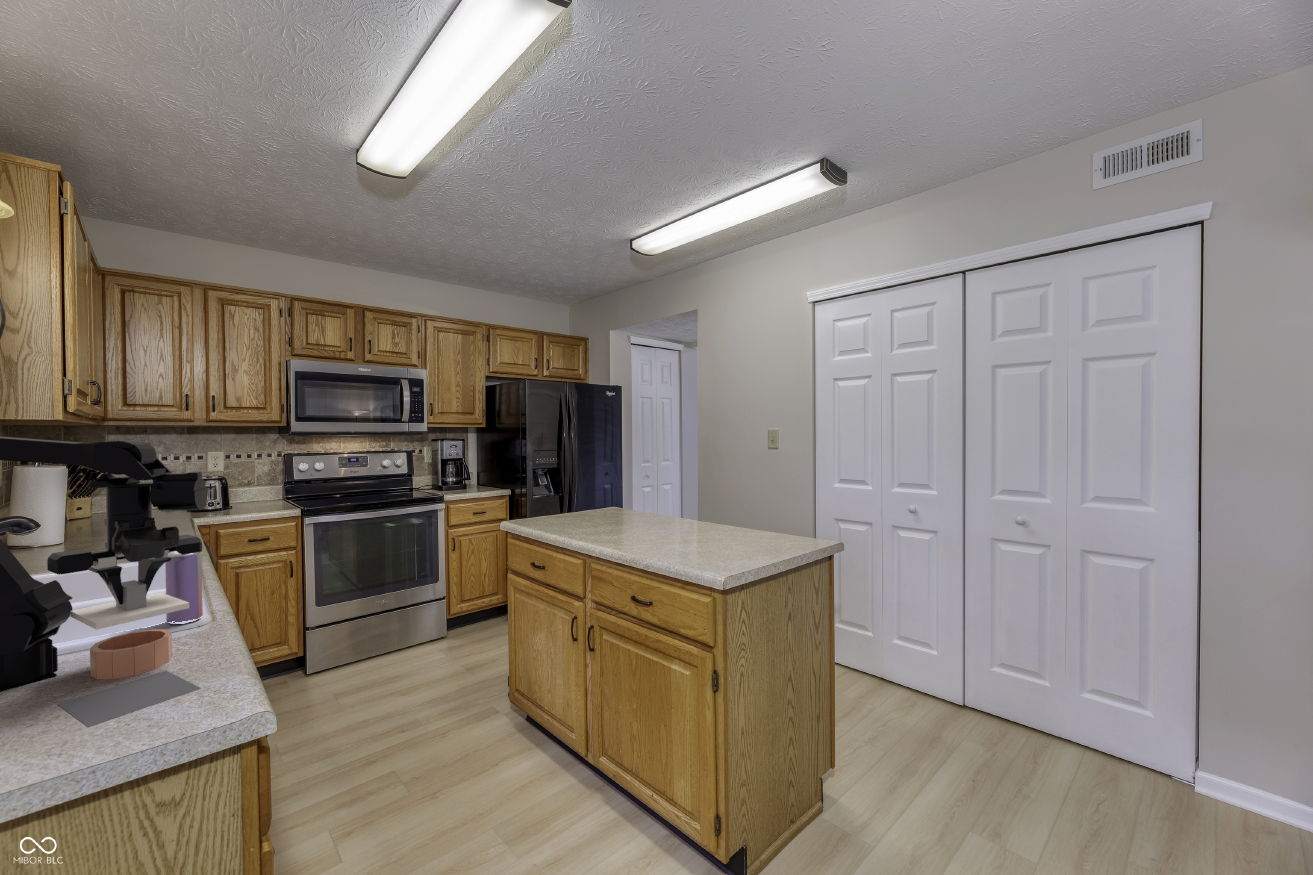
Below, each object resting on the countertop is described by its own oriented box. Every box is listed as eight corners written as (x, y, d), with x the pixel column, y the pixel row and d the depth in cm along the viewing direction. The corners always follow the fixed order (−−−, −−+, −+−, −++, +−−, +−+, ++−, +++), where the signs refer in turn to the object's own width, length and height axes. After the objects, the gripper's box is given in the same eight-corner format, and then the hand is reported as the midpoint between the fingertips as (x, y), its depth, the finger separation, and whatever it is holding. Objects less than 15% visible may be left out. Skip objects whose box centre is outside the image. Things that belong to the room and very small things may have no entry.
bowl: (104, 686, 89) (104, 656, 89) (82, 673, 94) (81, 644, 94) (181, 663, 98) (180, 635, 98) (157, 652, 103) (156, 625, 103)
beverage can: (186, 626, 116) (185, 555, 116) (158, 625, 116) (157, 555, 116) (209, 616, 122) (208, 549, 122) (183, 616, 122) (182, 549, 122)
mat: (88, 730, 76) (88, 727, 76) (56, 707, 83) (56, 703, 83) (201, 691, 88) (201, 688, 88) (166, 673, 94) (166, 670, 94)
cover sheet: (96, 629, 88) (95, 598, 87) (70, 616, 93) (69, 587, 93) (189, 608, 98) (188, 580, 98) (160, 597, 104) (160, 571, 104)
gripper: (69, 525, 83) (70, 627, 84) (215, 509, 100) (216, 594, 100) (45, 518, 89) (47, 614, 89) (188, 504, 105) (189, 586, 105)
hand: (131, 602), depth 96 cm, fingers closed on cover sheet, 2 cm apart
